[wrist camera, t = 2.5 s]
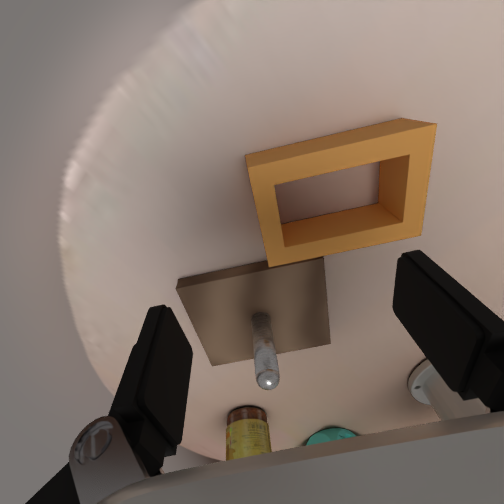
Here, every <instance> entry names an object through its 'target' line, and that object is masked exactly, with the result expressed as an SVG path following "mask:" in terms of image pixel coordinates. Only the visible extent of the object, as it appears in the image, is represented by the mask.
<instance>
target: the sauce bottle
mask: <svg viewBox="0 0 504 504" xmlns="http://www.w3.org/2000/svg"><path fill="white" fill-rule="evenodd" d="M270 452H272V450H271V442H270V433H269V425H268V423H267V417H266V414H265V412H264V411H262V410H261V409H258V408H256V407H244V408H240V409H236V410H234V411H233V412H232V413H230V415H229V416H228V420H227V429H226V461H228V460H233V459H238V458H243V457H249V456H254V455H259V454H264V453H270Z"/></svg>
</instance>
